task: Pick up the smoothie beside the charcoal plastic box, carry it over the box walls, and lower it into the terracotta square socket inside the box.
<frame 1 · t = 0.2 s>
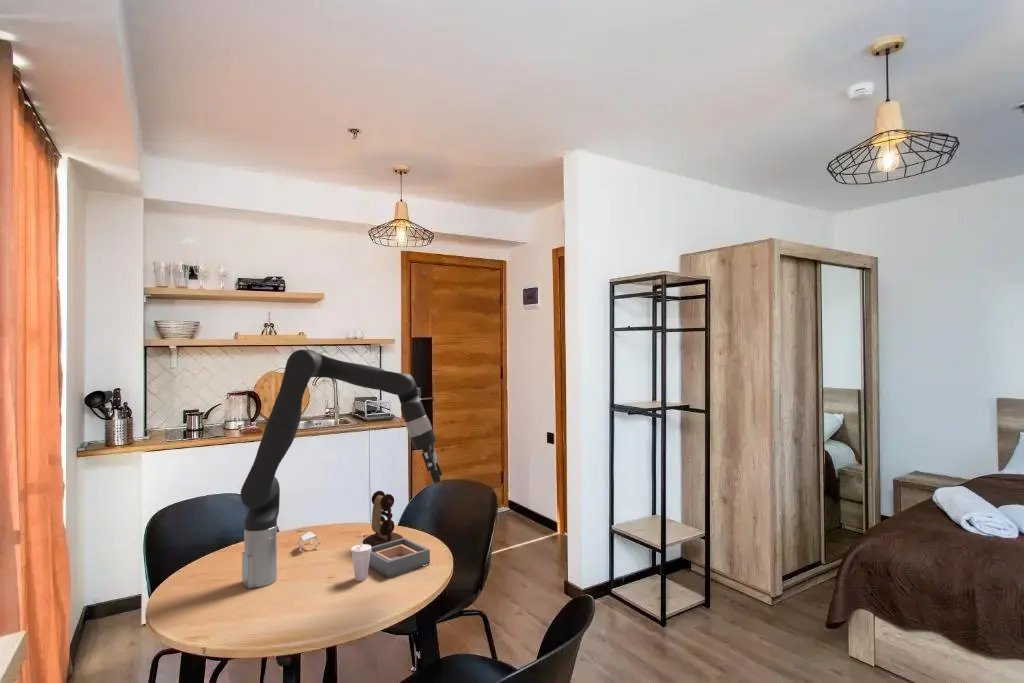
hand: (438, 478, 170), 31 cm above the table, tool tilted 20°, fingers open, 8 cm apart
scroll: (383, 547, 195), on the table
smoothie: (361, 578, 168), on the table
socket box: (396, 564, 179), on the table
origami figure: (309, 548, 194), on the table
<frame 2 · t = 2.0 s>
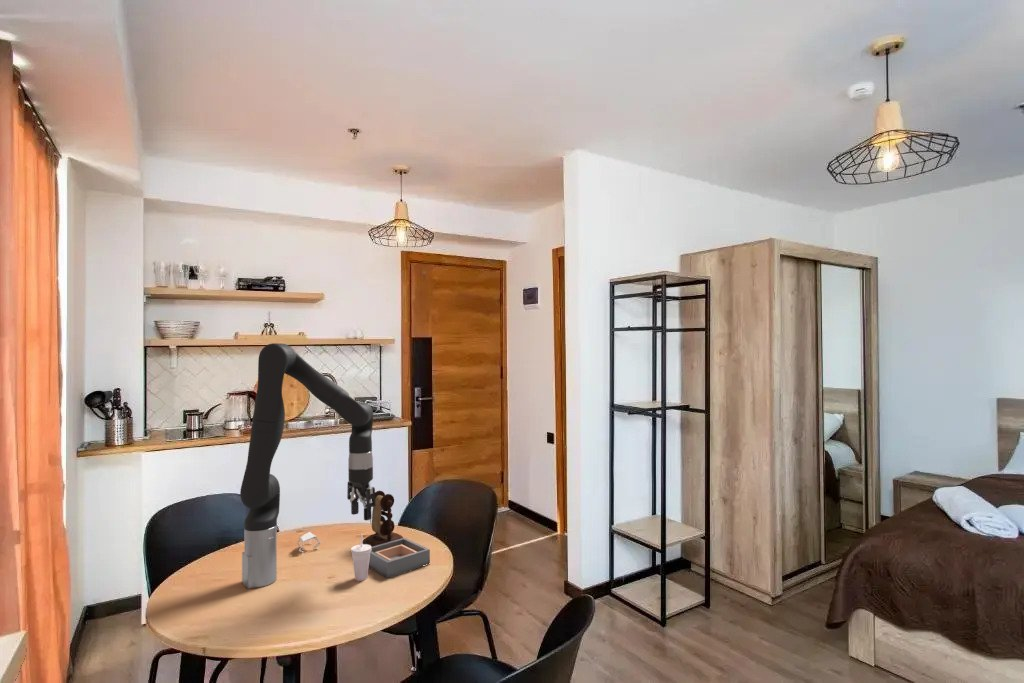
hand: (361, 516, 168), 19 cm above the table, tool pointing down, fingers open, 8 cm apart
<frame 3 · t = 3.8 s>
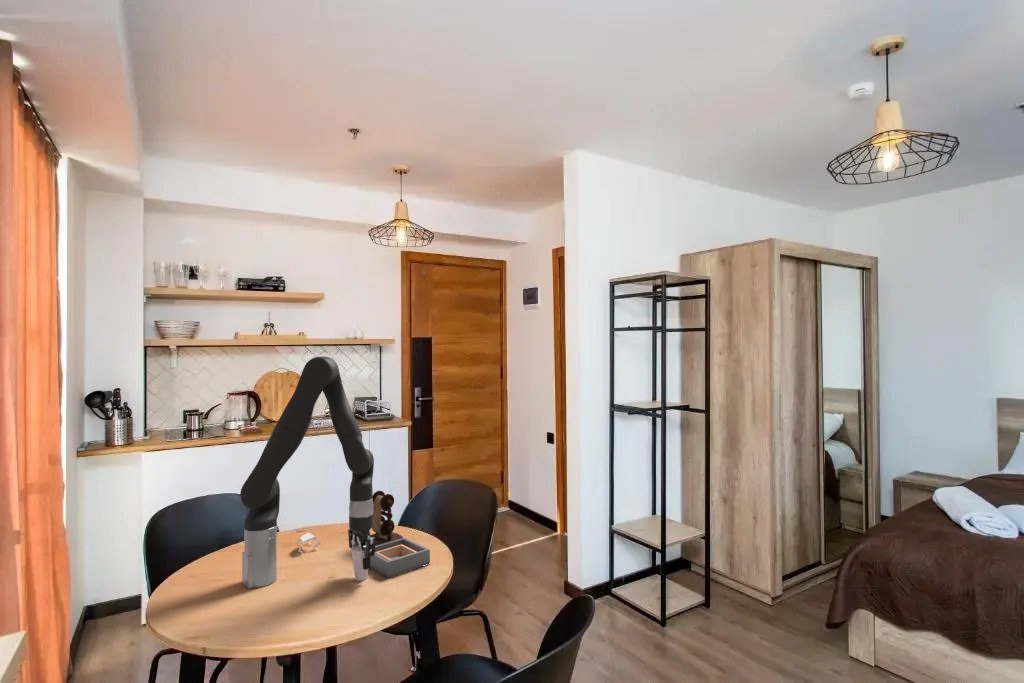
hand: (361, 565, 168), 4 cm above the table, tool pointing down, fingers closed on smoothie, 6 cm apart
smoothie: (361, 578, 168), on the table, touching gripper
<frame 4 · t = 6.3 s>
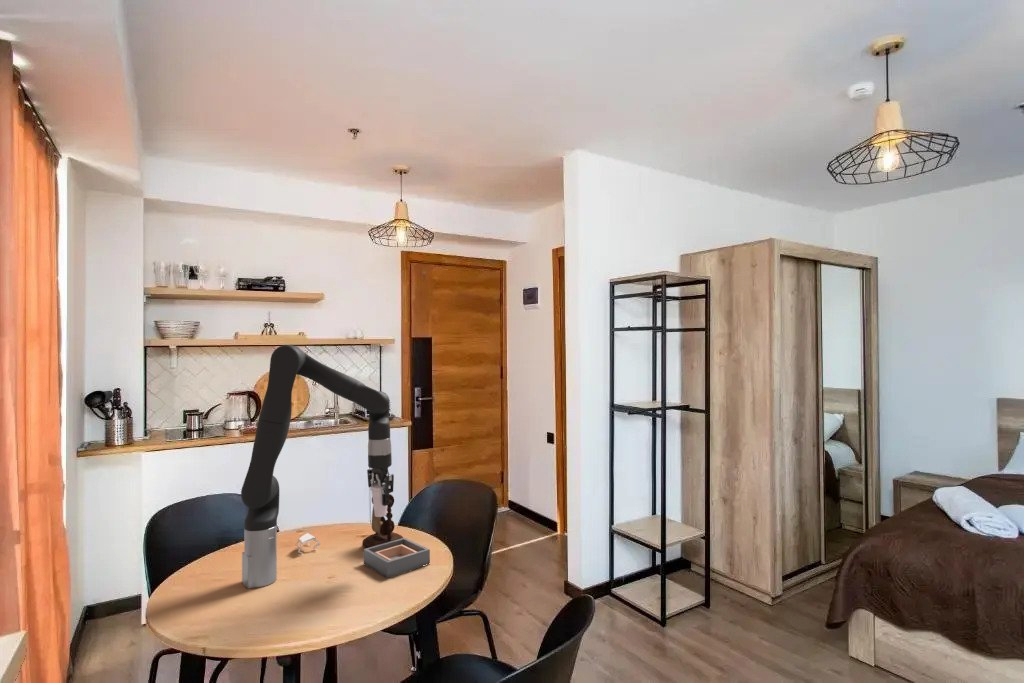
hand: (380, 503, 173), 22 cm above the table, tool pointing down, fingers closed on smoothie, 6 cm apart
smoothie: (380, 515, 173), point 18 cm above the table, touching gripper
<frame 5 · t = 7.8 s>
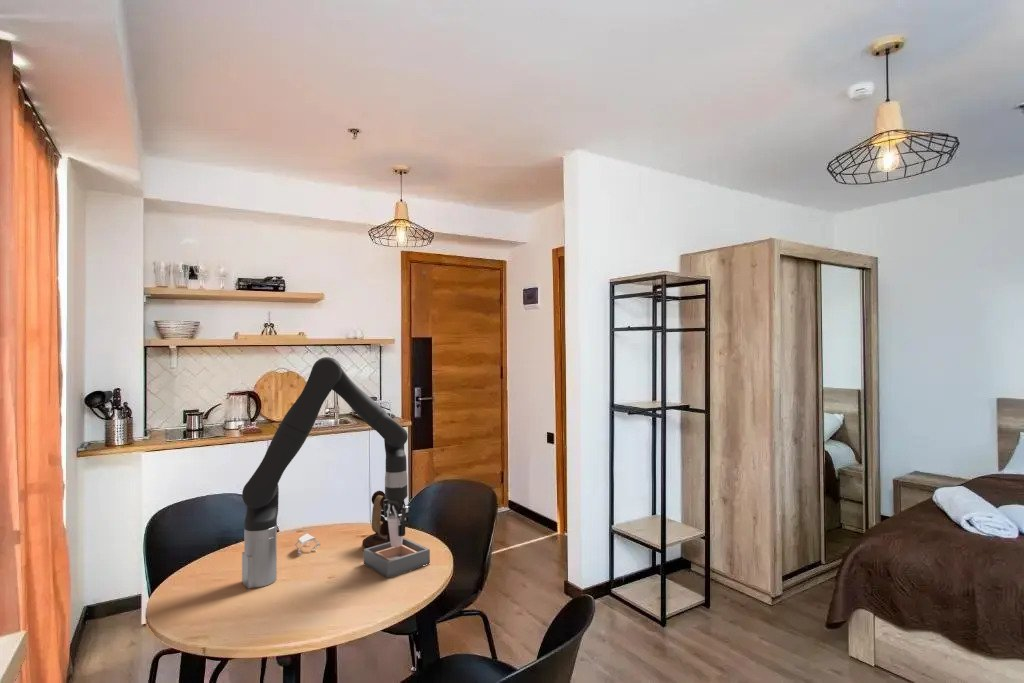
hand: (396, 533, 179), 10 cm above the table, tool pointing down, fingers closed on smoothie, 6 cm apart
smoothie: (396, 545, 179), point 6 cm above the table, touching gripper
when the fingers open (6 cm above the table, at t = 9.2 s): smoothie drops 1 cm, resting on socket box.
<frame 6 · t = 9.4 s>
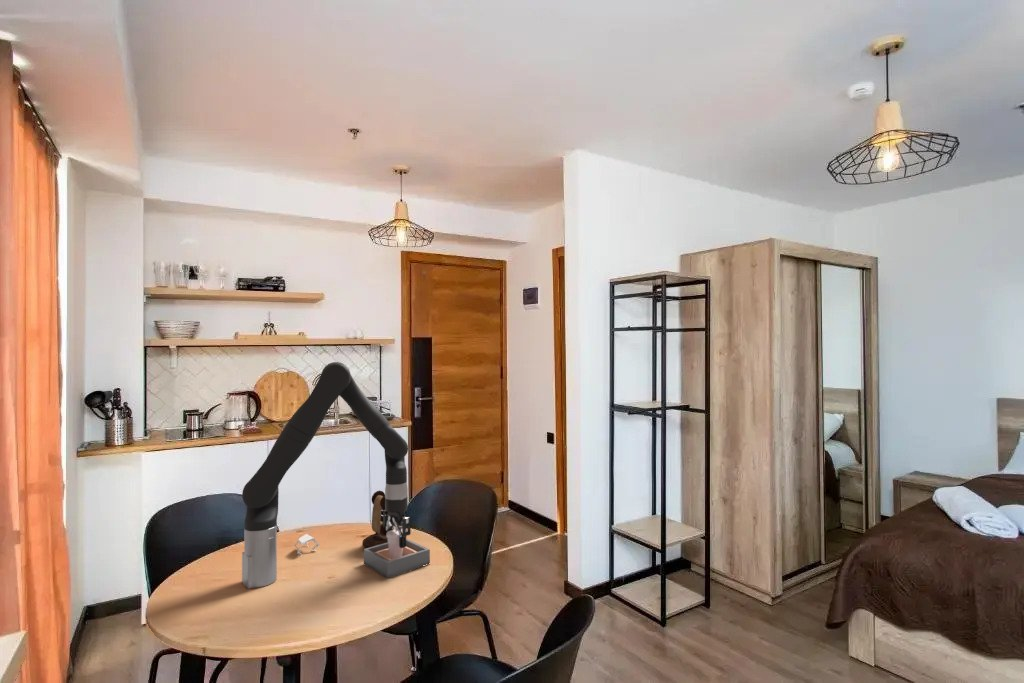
hand: (396, 544, 179), 7 cm above the table, tool pointing down, fingers open, 7 cm apart
smoothie: (396, 561, 179), point 1 cm above the table, touching socket box
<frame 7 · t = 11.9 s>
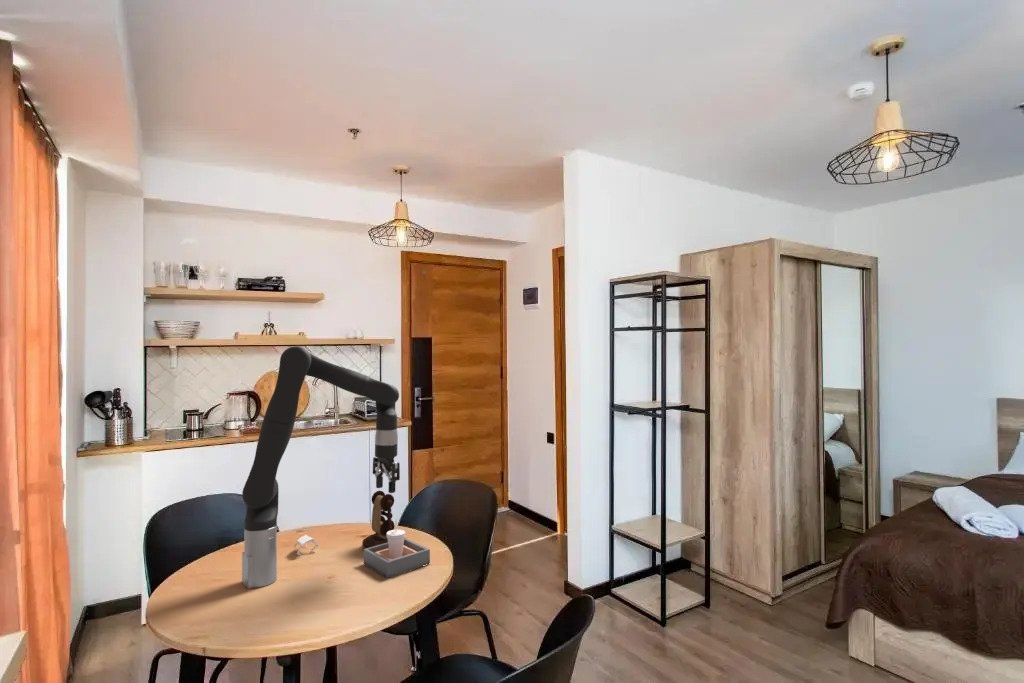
hand: (385, 490, 180), 25 cm above the table, tool pointing down, fingers open, 8 cm apart
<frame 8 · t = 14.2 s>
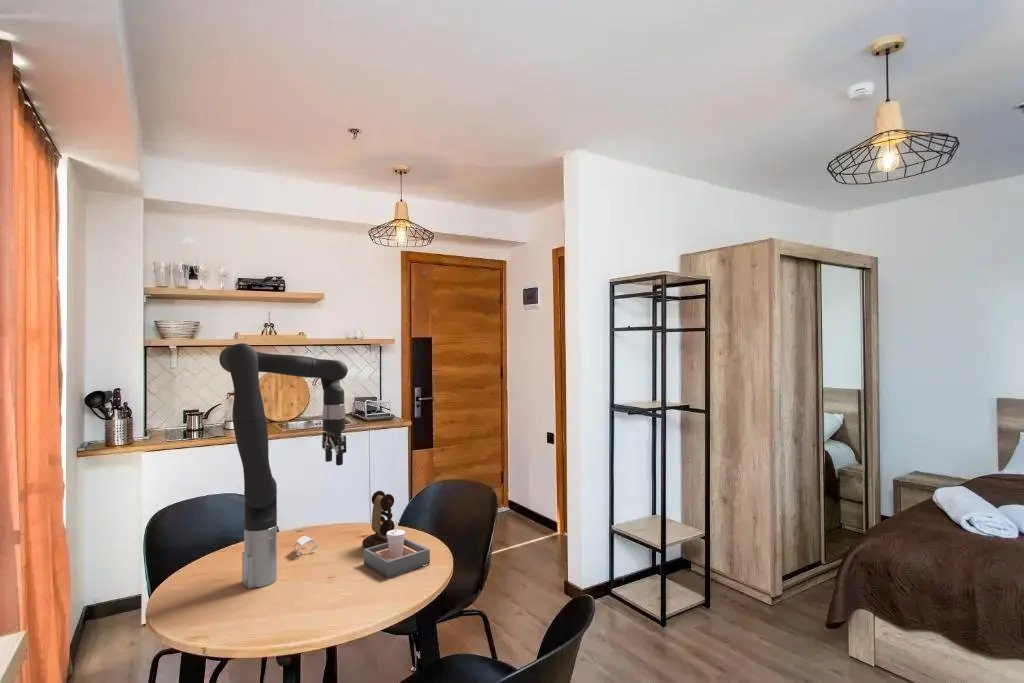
hand: (334, 463, 185), 33 cm above the table, tool pointing down, fingers open, 8 cm apart
at the end: smoothie 0.3 cm off-centre on the socket box, point 0.8 cm above the socket box's base; smoothie tilted 0°; the gripper is holding nothing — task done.
